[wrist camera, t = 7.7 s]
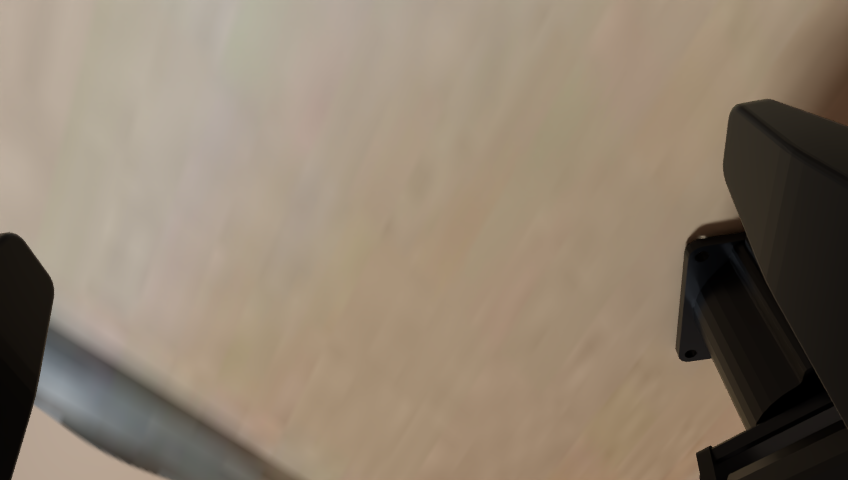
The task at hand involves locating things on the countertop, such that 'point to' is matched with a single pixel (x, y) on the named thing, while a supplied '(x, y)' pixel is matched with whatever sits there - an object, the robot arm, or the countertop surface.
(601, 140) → the countertop surface
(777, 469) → the robot arm
